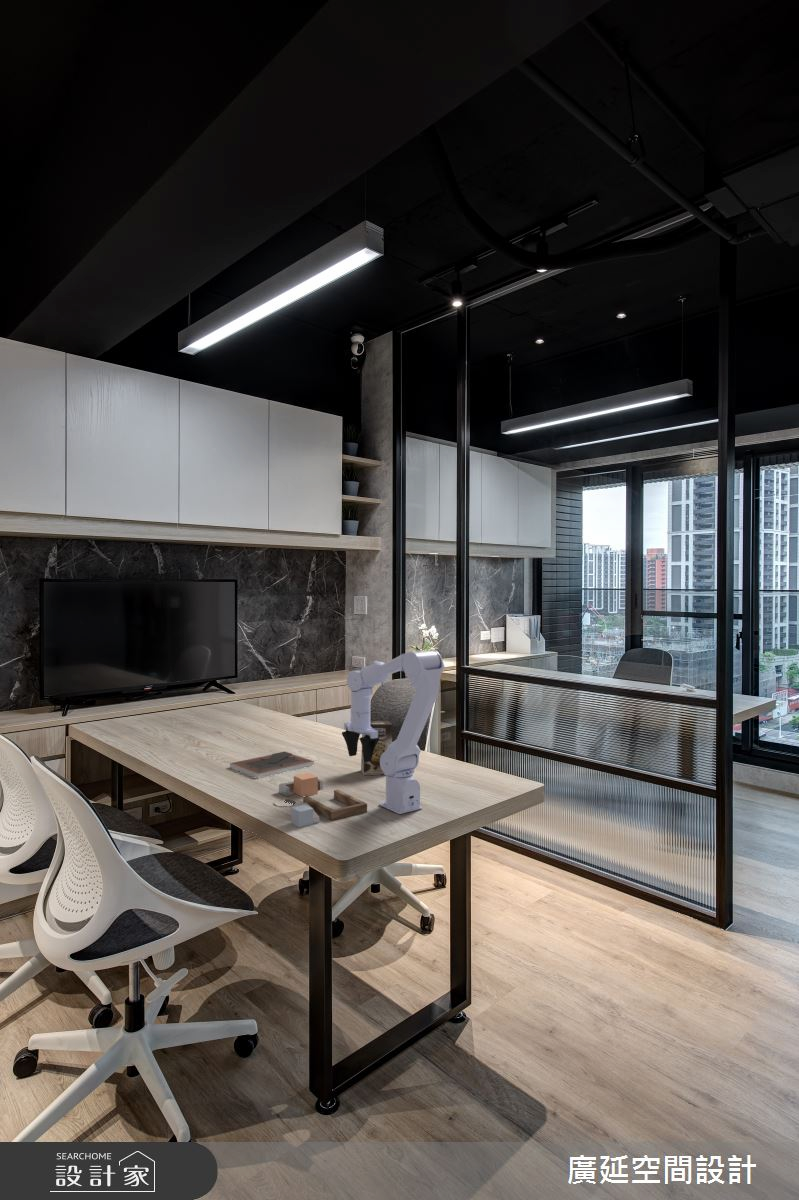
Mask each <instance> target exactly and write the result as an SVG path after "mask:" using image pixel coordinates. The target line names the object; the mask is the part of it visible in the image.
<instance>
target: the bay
mask: <svg viewBox="0 0 799 1200" xmlns="http://www.w3.org/2000/svg"><path fill="white" fill-rule="evenodd" d="M333 798H334V799H335V800H337V801H339V802H341V803H343V804H345V805H347V806H344V807H339V808H335V809H333V808H331V807H329V806H327V805H325V804H323V803H321V802H319V801H317V800H316V799H314V798H312V797H310V796H305V797H302V803H305V802H308V804H309V805H310V806H311V807H312V808H313V810H314V811H316V813H317V812H318V813H317V814H320V815H321V816H322V815H323V818H326V819H328V820H330V821H336V820H340V819H344V818H348V817H353V816H356V815H360V814H364V813H365V814H366V813H367V812H368V803H366V802H365V801H362V800H361V799H358V798H356V797H354V796H352V795H350V794H347V793H346V792H344V791H342V790H339V789H335V790H334V789H333Z"/></svg>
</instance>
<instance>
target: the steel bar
mask: <svg viewBox="0 0 799 1200" xmlns="http://www.w3.org/2000/svg"><path fill="white" fill-rule="evenodd" d="M304 804H306V805H307V806H309V807H311V806H310V805H309V804H308V802H305V803H303V802H300V805H304ZM311 808H312V807H311ZM313 823H314V824H319V823H320V816H319V815H318V813H317V812H315V811H314V810H313Z"/></svg>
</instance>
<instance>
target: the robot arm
mask: <svg viewBox="0 0 799 1200" xmlns="http://www.w3.org/2000/svg"><path fill="white" fill-rule="evenodd" d="M444 669H445V664H444V661H443V658H442V655H441V654H440V653H439V652H438V651H437V650H435V649H431V650H424V651H408V652H406V653H401V654H400V655H398V656H396V657H395V658H392V659H391V660H389V661H387V662H383V661H379V660H374V661H372V662H371V664H370V665H368V666H366V665H365V666H362V667H361V669H360V670H351V671H350V672H349V673H348V674H347V676H346V677H347V678H346V684H347V687H348V688H349V690H350V721H348V722H343V730H345V731H342V732H341V735H342V737H343V738H344V741H345V744H346V748H347V752H348V756H349V757H354V756H355V757H356V756H357V754H358V747H359V746H358V743H359V741H360V744H361V750H362V749H363V759H364V762H369V761H371V759H372V755H373V752H374V749H375V746H376V744H377V743H378V741H379V737H378V731H376V730H374V729H373V728H372V727H371V726H370V721H371V713H372V712H371V709H372V708H371V707H372V706H371V705H372V704H371V701H372V699H371V697H372V695H373V690H374V688H375V686H376V685H377V686H378V685H380V684H381V683H384V682H387V681H388V679H389V678H390V675H392V674H395V673H397V672H400V671H401V672H404V674H405V675H406V677H407V679H408V680H409V682H410V684H411V686H412V688H414V689H415V690H416V692H415V693H414V694H415V695H414V696H413V698H412V701H411V703H410V706H409V708H408V711H407V713H406V715H405V718H404V720H403V723H402V726H401V727H400V730H399V733H398V735H397V737H396V739H395V740H393V741H392V743H391V744H390V745H389V746H388V747H387V750H386V751H385V752H384V753H383V754H382V755H381V757H380V766H381V769H382V771H383V772H384V775H385V801H382V802H379V803H378V805H379V806H380V807H383V808H385V809H387V810H389V811H391V812H394V813H395V814H398V815H402V814H405V813H409V812H410V813H411V812H415V811H418V810H422V809H423V806H421V785H420V783H419V781H418V780H416V779H415V777H414V775H413V774H414V773H415V769H416V768H417V767H418V766H419V761H420V760H419V758H420V753H421V749H420V747H419V745H418V743H419V740H420V738H421V736H422V732H423V731H424V728H425V726H426V724H427V721H428V718H429V716H430V714H431V712H432V710H433V707H434V705H435V703H436V700H437V698H438V695H439V693H440V685H441V684H440V683H441V675H442V673H443V671H444ZM362 735H365V736H366V737H362ZM360 736H361V737H360ZM384 775H383V776H384Z"/></svg>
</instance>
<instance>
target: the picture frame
mask: <svg viewBox="0 0 799 1200" xmlns="http://www.w3.org/2000/svg"><path fill="white" fill-rule="evenodd" d="M312 765H314V766H315V761H314V760H311V759H308V758H305V757H302V756H298V755H295V754H293V753H290V752H288V751H281V752H274V753H272V754H268V755H264V756H259V757H254V758H248V759H244V760H243V759H242V760H238V761H234V762H233V761H232V762H230V763H229V769H231V768H232V770H234V769H235V771H237V772H239V771H240V773H242V772H243V773H242V774H244V773H245V774H244V775H247V774H248V775H247V776H249V775H250V777H252V776H253V777H252V778H255V777H256V779H257V778H258V779H257V780H259V778H260V779H263V777H264V778H268V777H267V776H269V777H271V775H273V776H276V775H275V774H277V775H281V774H284V773H283V772H286V773H288V772H287V771H290V772H293V771H292V770H294V771H297V770H296V769H299V770H301V769H300V768H303V769H305V768H304V767H307V768H309V767H308V766H311V767H313V766H312ZM280 773H281V774H280Z"/></svg>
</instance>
